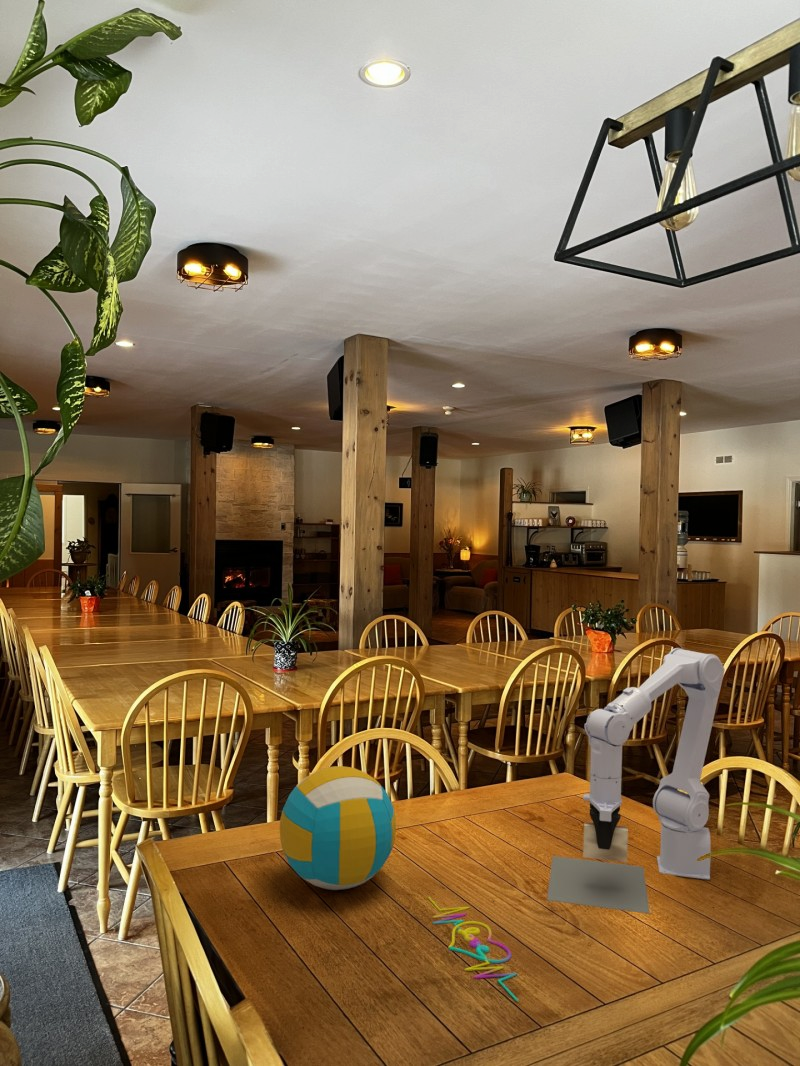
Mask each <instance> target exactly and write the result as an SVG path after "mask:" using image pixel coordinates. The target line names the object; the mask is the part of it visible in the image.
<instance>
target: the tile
mask: <svg viewBox="0 0 800 1066" xmlns="http://www.w3.org/2000/svg"><path fill="white" fill-rule="evenodd" d="M628 840H629V827H628V826H623V825H616V827H615V830H614V834H613V838H612V843H611V847H610V850H607V849H599V848H598V844H597V838H596V831H595V827H594V823H593V822H591V821H590V822H587V821H584V822H583V847H582V848H583V850H582V852H583V854H582V857H583V858H588V859H597V860H602V861H603V860H604V861H611V862H619V863H620V862H621V863H628V843H629V842H628Z"/></svg>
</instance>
